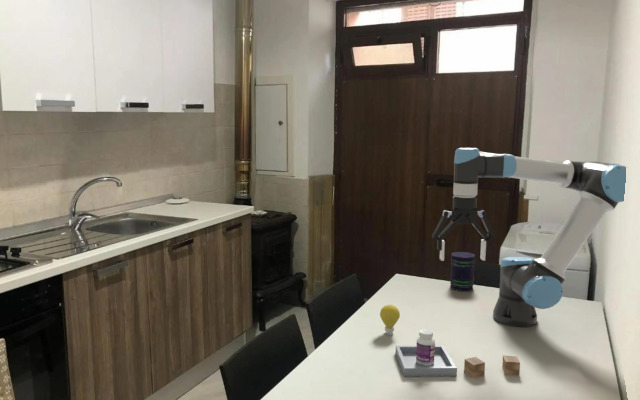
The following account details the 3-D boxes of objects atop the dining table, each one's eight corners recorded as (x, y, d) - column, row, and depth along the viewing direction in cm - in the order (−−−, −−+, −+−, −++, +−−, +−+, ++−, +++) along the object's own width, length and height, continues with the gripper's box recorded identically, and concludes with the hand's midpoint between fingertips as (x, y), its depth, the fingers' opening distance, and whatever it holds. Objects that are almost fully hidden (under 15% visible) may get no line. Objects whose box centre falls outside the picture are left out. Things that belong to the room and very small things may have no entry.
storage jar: (450, 290, 222) (452, 256, 220) (448, 283, 231) (450, 251, 229) (474, 292, 220) (476, 257, 218) (472, 284, 230) (473, 252, 227)
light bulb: (400, 330, 180) (401, 303, 178) (397, 338, 173) (398, 309, 172) (381, 328, 182) (382, 300, 180) (377, 335, 175) (378, 307, 174)
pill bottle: (434, 367, 152) (435, 336, 150) (415, 365, 153) (416, 334, 151) (434, 359, 157) (435, 328, 156) (416, 357, 158) (417, 327, 157)
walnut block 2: (516, 369, 152) (517, 356, 152) (519, 375, 148) (520, 362, 148) (502, 368, 153) (502, 355, 152) (504, 374, 149) (505, 361, 148)
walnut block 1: (475, 369, 152) (475, 356, 151) (484, 375, 148) (485, 362, 148) (464, 372, 150) (464, 359, 150) (472, 378, 147) (473, 365, 146)
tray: (443, 352, 162) (443, 345, 162) (456, 376, 148) (457, 367, 147) (395, 353, 162) (395, 345, 162) (404, 376, 147) (404, 368, 147)
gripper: (498, 194, 172) (495, 256, 175) (424, 194, 171) (422, 256, 174) (507, 197, 164) (504, 262, 167) (429, 197, 164) (427, 263, 167)
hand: (462, 259), depth 171 cm, fingers open, 13 cm apart
